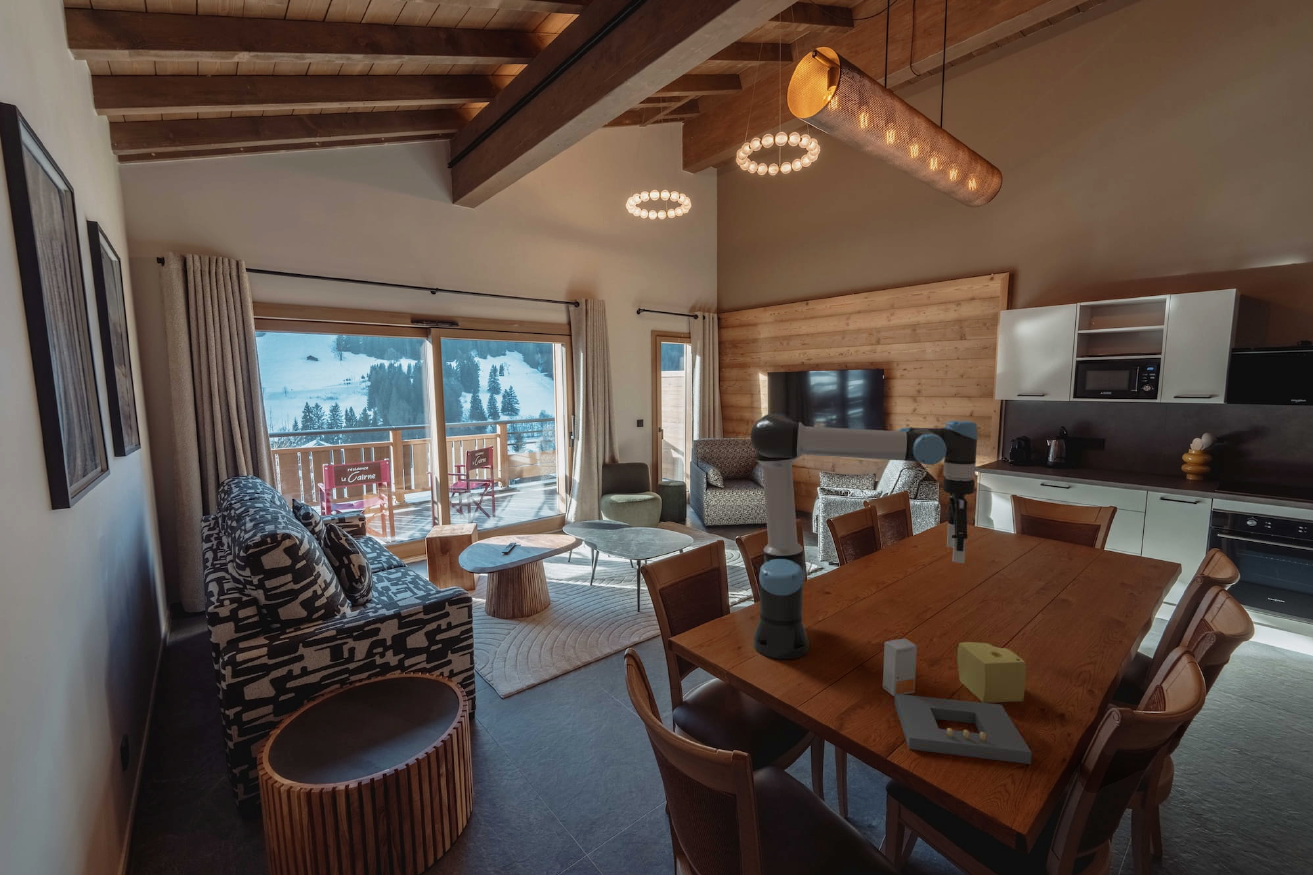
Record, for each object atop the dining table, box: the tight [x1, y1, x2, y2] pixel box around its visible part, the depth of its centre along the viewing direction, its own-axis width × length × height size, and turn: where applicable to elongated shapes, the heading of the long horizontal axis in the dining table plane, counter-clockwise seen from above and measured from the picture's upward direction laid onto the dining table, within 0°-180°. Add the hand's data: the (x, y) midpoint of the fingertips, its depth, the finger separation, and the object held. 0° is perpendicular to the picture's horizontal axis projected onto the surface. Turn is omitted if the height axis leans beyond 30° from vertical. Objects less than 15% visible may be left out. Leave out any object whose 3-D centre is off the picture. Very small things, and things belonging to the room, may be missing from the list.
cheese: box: [956, 641, 1027, 704], centre depth 133 cm, size 10×11×10 cm
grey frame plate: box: [894, 694, 1032, 765], centre depth 119 cm, size 22×16×4 cm
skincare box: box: [882, 638, 918, 698], centre depth 134 cm, size 6×4×12 cm
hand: (955, 554), depth 153 cm, fingers open, 13 cm apart
